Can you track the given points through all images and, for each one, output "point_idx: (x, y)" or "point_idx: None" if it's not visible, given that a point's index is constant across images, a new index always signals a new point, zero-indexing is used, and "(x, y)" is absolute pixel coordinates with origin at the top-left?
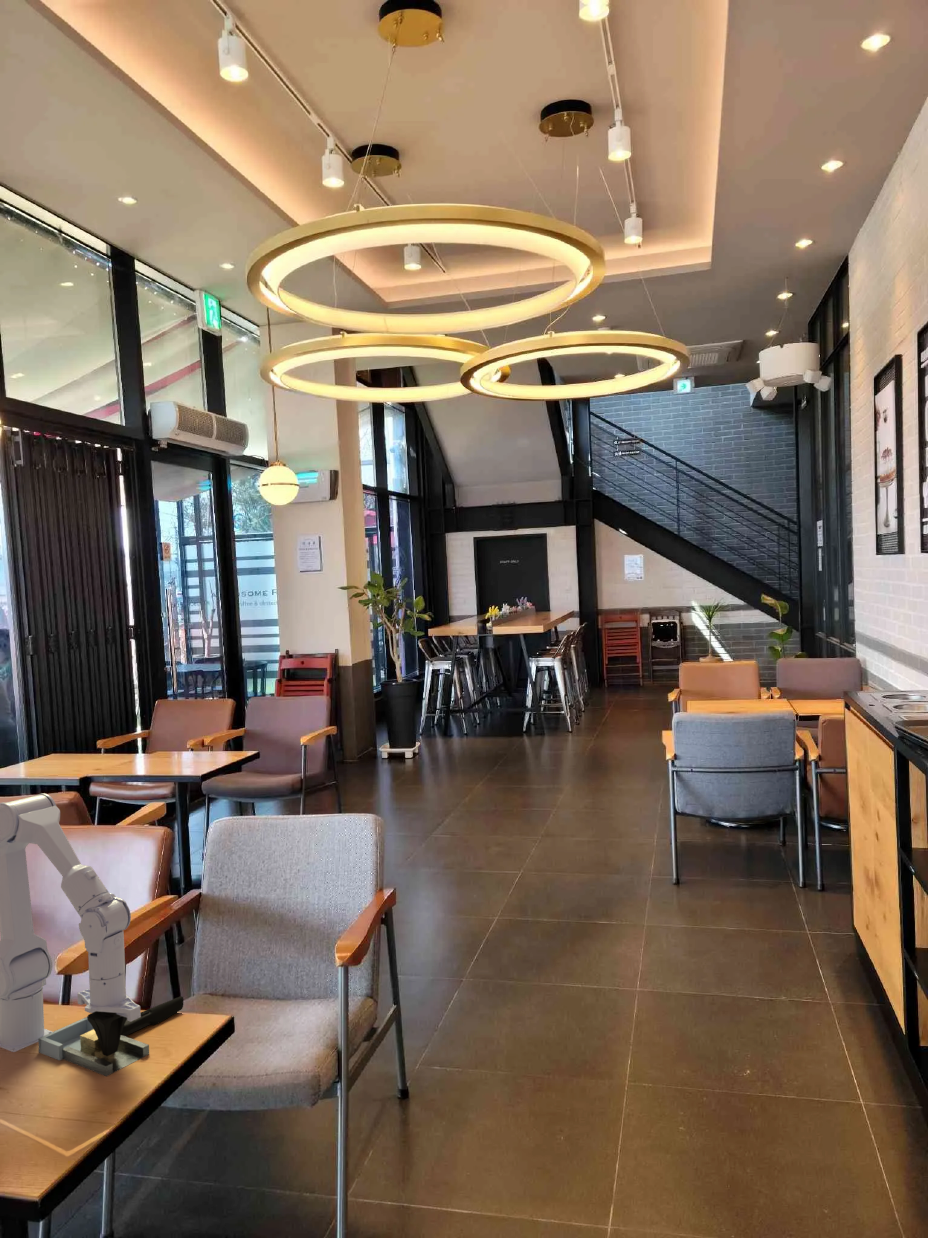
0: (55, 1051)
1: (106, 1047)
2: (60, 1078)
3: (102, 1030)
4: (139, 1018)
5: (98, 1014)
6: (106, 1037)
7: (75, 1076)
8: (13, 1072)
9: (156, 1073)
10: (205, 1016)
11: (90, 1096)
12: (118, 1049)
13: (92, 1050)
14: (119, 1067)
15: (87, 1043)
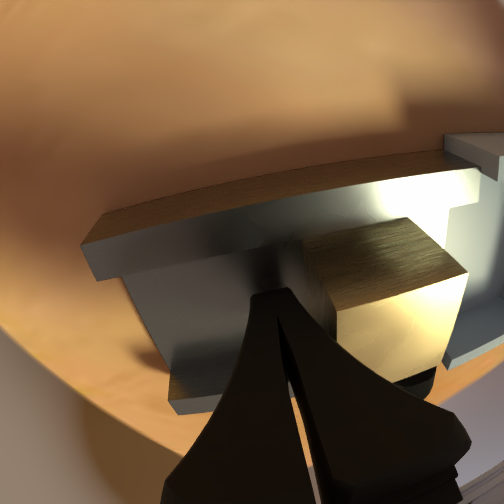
0: (496, 146)
1: (246, 327)
2: (309, 54)
3: (247, 420)
4: None
5: (382, 497)
6: (230, 382)
7: (263, 114)
8: (499, 8)
9: (52, 347)
10: None
11: (10, 111)
12: None
13: (338, 265)
14: (145, 292)
15: (396, 272)
